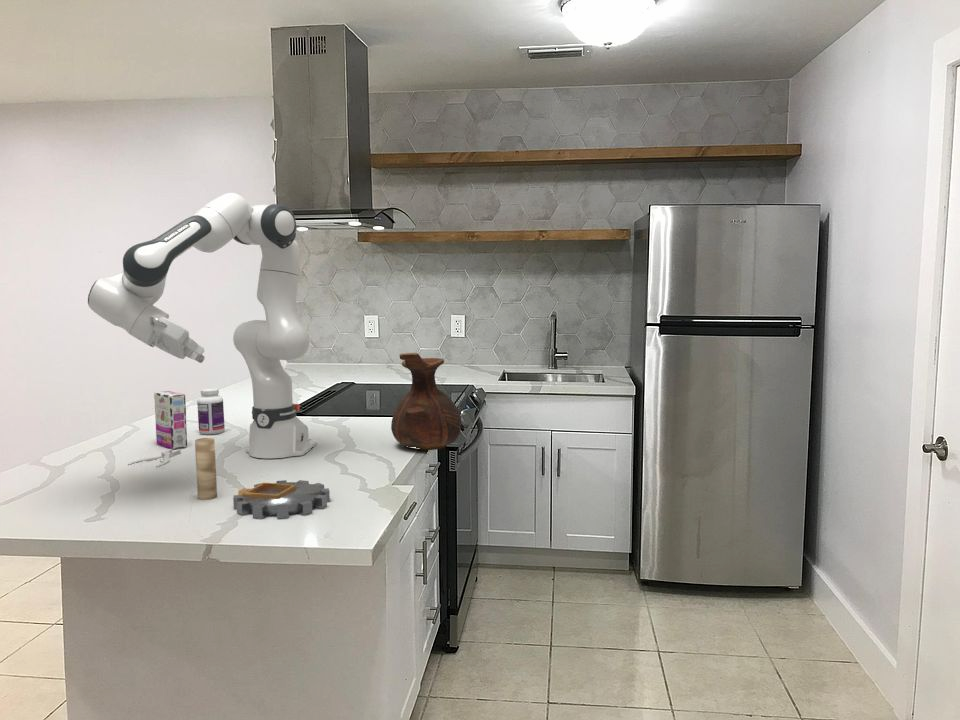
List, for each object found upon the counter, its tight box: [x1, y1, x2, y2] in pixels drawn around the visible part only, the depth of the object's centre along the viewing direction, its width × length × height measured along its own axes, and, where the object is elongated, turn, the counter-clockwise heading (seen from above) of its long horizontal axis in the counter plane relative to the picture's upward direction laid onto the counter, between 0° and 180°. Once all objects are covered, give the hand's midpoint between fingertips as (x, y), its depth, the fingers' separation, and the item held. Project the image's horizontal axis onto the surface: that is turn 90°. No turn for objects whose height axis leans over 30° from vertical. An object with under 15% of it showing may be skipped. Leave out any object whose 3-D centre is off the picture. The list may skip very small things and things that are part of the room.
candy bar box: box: [153, 390, 188, 451], centre depth 236 cm, size 11×5×16 cm, turn 47°
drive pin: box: [194, 437, 218, 501], centre depth 185 cm, size 4×4×14 cm
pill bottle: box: [196, 387, 226, 436], centre depth 254 cm, size 8×8×14 cm
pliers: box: [127, 448, 182, 468], centre depth 221 cm, size 10×2×15 cm
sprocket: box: [232, 479, 331, 520], centre depth 181 cm, size 22×22×3 cm
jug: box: [390, 352, 462, 451], centre depth 235 cm, size 22×22×30 cm
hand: (203, 356), depth 190 cm, fingers open, 8 cm apart
